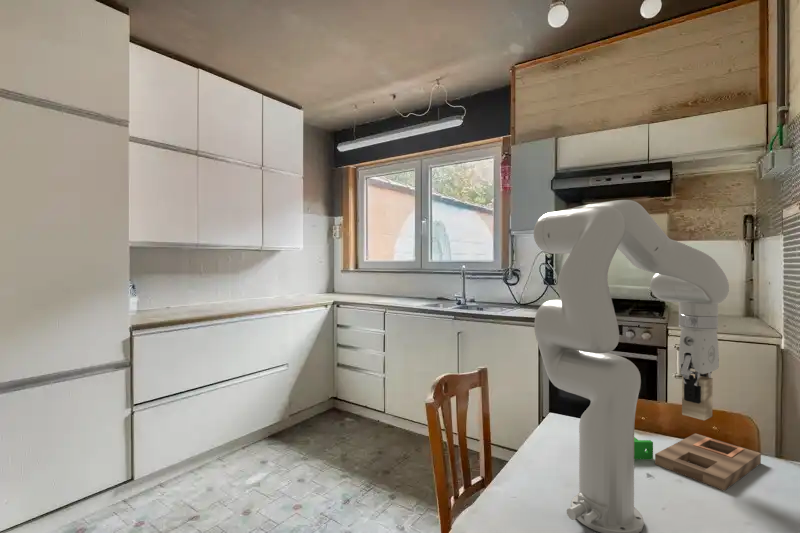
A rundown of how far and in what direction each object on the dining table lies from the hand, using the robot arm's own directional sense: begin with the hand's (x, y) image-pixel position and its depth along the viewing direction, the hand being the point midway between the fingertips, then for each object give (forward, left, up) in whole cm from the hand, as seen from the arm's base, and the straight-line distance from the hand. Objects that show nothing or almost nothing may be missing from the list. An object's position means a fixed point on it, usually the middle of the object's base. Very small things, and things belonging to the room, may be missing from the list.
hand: (697, 398), depth 97 cm
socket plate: (+6, 0, -17) cm, 18 cm away
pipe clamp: (-6, +13, -17) cm, 23 cm away
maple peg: (0, 0, -4) cm, 4 cm away
